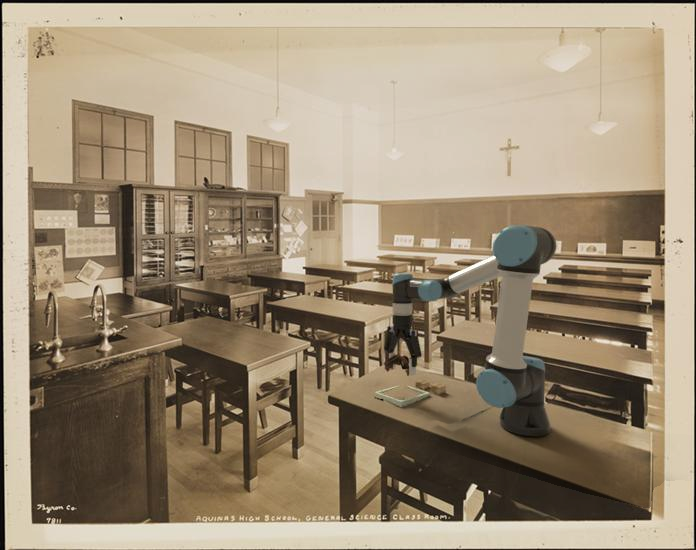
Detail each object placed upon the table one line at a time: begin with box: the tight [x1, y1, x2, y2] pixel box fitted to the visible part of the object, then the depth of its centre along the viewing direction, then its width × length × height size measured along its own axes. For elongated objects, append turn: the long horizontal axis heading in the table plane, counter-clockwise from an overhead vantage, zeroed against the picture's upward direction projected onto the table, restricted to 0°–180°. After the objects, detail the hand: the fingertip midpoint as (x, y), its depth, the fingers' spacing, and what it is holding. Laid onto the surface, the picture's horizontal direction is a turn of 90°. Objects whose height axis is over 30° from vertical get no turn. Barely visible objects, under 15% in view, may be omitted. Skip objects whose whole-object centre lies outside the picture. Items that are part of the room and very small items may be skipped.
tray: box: [373, 385, 431, 408], centre depth 156 cm, size 14×16×2 cm
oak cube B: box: [415, 379, 431, 390], centre depth 163 cm, size 4×4×4 cm
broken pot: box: [383, 353, 410, 377], centre depth 156 cm, size 12×9×8 cm
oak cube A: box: [430, 383, 447, 396], centre depth 159 cm, size 4×4×4 cm
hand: (402, 372), depth 156 cm, fingers closed on broken pot, 10 cm apart
